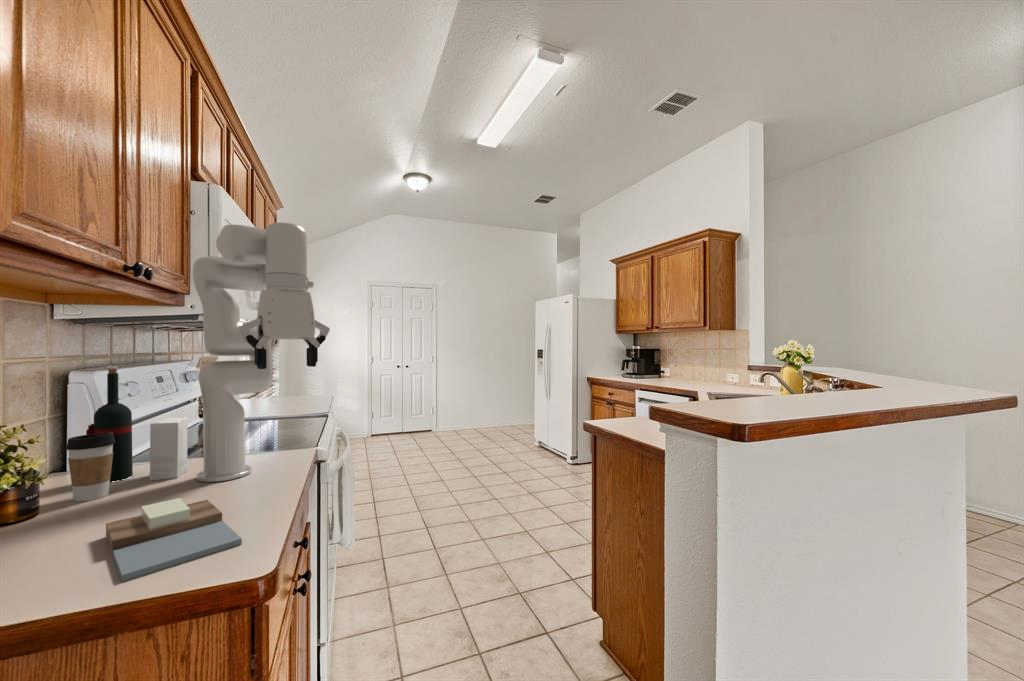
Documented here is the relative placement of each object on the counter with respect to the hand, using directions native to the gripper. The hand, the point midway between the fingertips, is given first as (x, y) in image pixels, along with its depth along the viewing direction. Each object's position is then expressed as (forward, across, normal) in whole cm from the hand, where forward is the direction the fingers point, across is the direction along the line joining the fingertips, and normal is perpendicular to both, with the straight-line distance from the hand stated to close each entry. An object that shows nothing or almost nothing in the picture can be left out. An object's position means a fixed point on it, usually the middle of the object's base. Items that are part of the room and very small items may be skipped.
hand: (287, 367), depth 88 cm
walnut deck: (+31, +18, -12) cm, 38 cm away
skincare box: (+31, +10, -57) cm, 66 cm away
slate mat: (+31, +18, -1) cm, 36 cm away
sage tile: (+29, +18, -12) cm, 36 cm away
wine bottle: (+31, +22, -65) cm, 75 cm away
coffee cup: (+31, +26, -50) cm, 65 cm away
